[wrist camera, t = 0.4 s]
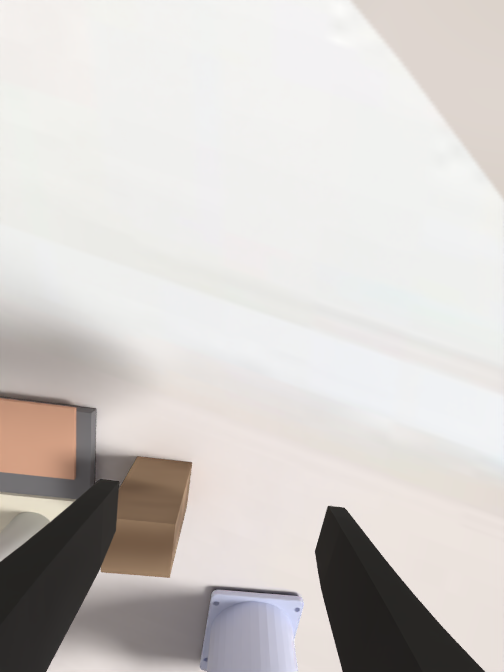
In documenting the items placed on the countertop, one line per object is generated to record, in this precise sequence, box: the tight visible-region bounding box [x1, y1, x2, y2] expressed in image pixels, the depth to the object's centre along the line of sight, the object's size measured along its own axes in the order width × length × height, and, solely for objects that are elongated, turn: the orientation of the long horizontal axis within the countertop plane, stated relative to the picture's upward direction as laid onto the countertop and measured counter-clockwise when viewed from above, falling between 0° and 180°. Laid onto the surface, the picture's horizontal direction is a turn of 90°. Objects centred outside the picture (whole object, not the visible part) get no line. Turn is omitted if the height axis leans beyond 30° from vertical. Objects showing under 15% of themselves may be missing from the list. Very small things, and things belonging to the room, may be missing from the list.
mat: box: [0, 397, 96, 532], centre depth 19 cm, size 13×8×1 cm, turn 171°
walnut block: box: [101, 456, 192, 578], centre depth 18 cm, size 4×4×5 cm
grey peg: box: [0, 512, 50, 561], centre depth 17 cm, size 3×3×5 cm
